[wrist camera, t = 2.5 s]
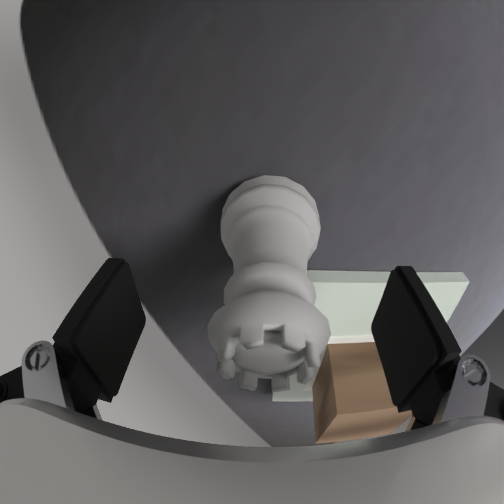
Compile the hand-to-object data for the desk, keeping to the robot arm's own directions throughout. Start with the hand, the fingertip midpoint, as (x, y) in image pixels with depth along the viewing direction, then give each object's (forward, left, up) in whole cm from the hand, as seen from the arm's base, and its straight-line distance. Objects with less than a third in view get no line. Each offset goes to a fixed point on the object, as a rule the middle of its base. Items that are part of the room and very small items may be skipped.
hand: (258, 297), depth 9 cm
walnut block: (+10, +7, -4) cm, 13 cm away
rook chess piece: (-1, 0, -5) cm, 5 cm away
